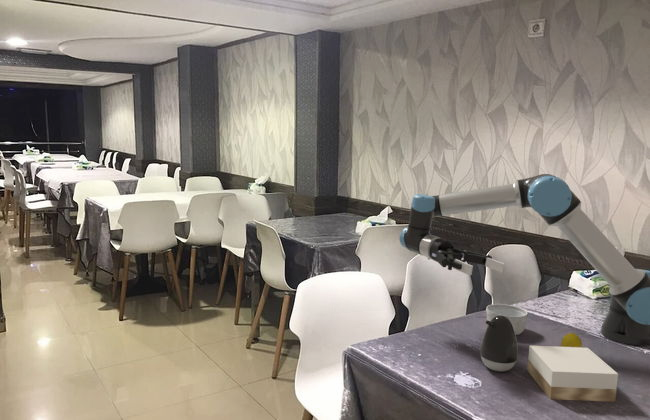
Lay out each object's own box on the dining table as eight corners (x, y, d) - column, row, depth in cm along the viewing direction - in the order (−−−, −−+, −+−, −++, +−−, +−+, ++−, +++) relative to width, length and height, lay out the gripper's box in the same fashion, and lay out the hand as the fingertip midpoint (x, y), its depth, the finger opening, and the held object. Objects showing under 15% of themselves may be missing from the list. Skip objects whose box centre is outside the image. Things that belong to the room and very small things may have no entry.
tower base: (584, 374, 146) (585, 361, 145) (614, 404, 130) (616, 389, 129) (526, 372, 146) (528, 359, 145) (550, 401, 130) (551, 386, 130)
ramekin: (517, 323, 183) (518, 303, 182) (532, 337, 170) (534, 317, 169) (479, 322, 183) (481, 303, 182) (492, 336, 170) (494, 316, 169)
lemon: (572, 363, 151) (574, 337, 150) (555, 356, 156) (558, 330, 155) (584, 360, 153) (587, 334, 152) (568, 353, 158) (570, 328, 157)
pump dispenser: (470, 363, 149) (474, 312, 147) (498, 357, 154) (502, 307, 151) (495, 378, 140) (499, 324, 138) (524, 372, 144) (529, 319, 142)
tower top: (586, 361, 145) (587, 347, 144) (616, 389, 129) (618, 374, 129) (528, 359, 145) (529, 345, 145) (551, 386, 130) (552, 371, 129)
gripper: (462, 259, 175) (513, 279, 158) (405, 261, 162) (454, 284, 145) (466, 237, 174) (518, 255, 156) (409, 238, 161) (459, 258, 143)
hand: (488, 269), depth 150 cm, fingers open, 13 cm apart
